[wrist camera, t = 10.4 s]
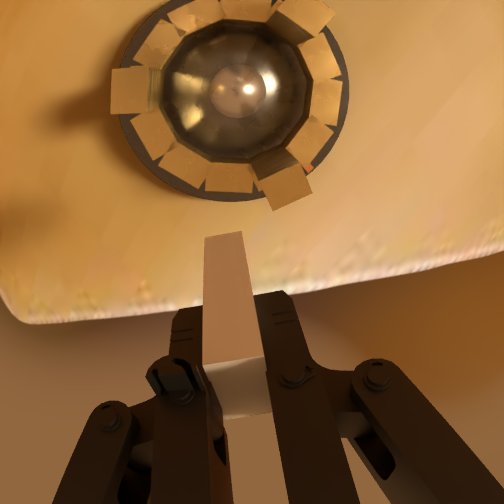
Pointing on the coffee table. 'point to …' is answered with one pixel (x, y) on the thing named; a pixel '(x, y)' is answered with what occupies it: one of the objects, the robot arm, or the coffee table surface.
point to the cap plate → (208, 117)
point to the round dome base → (265, 163)
